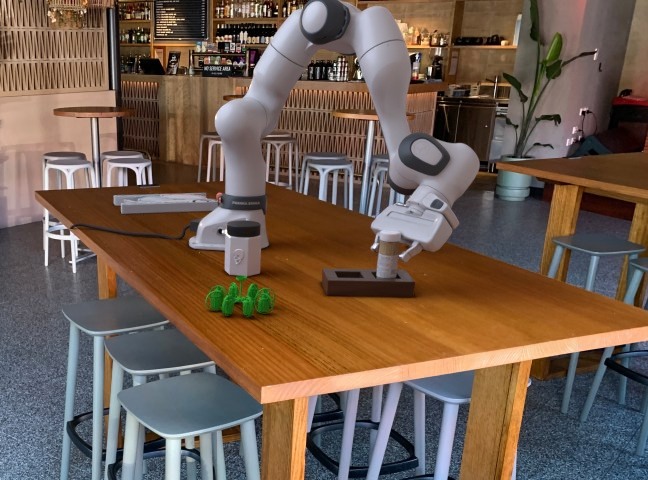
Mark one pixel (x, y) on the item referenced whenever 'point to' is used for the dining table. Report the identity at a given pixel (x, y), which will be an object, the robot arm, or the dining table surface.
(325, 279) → the holder
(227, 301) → the chandelier
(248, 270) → the jar
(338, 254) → the dining table surface
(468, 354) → the dining table surface
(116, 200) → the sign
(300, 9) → the robot arm
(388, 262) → the sprinkles bottle
